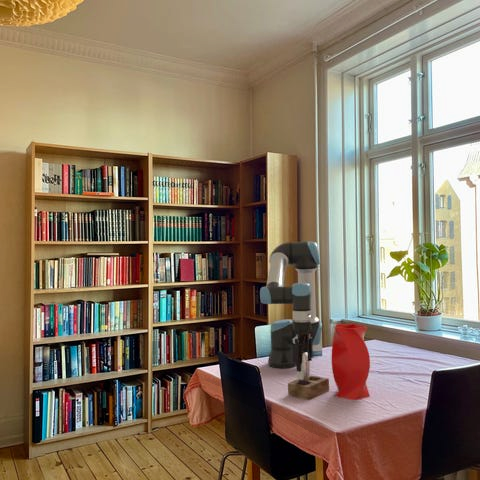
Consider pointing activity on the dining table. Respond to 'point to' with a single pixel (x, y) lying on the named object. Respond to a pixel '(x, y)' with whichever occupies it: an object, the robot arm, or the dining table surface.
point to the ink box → (318, 348)
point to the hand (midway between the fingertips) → (303, 377)
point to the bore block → (308, 387)
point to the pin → (304, 369)
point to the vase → (350, 361)
